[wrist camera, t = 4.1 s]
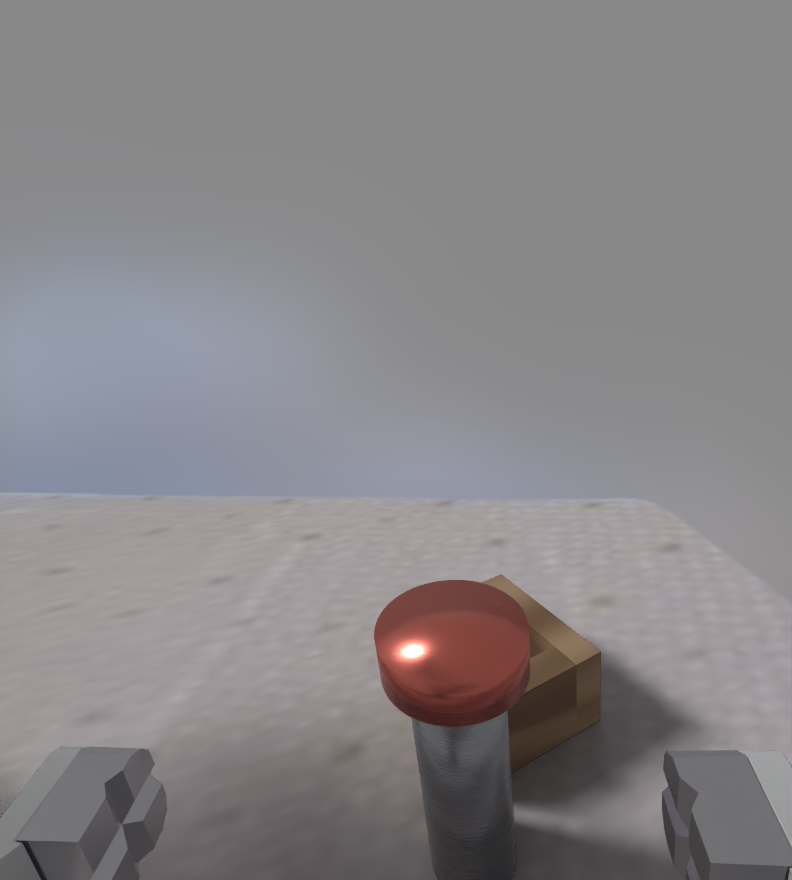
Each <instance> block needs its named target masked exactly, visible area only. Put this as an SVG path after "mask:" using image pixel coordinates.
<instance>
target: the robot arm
mask: <svg viewBox="0 0 792 880" xmlns="http://www.w3.org/2000/svg"><path fill="white" fill-rule="evenodd" d="M154 765H155V763H154V761H153V759H152V756H151V754H150V752H149V750H148V749H134V748H108V747H69V746H61V747H59V748H58V749H56V750H54V751H53V752H51V753H50V754H49V755H48V757H47V758H46V759H45V761H44V762H43V763H42V764H41V766H40V767H39V768H38V770H37V771H36V772H35V774H34V775H33V776H32V778H31V779H30V780H29V782H28V783H27V784H26V785H25V787H24V788H23V789H22V791H21V792H20V793H19V795H18V796H17V797H16V799H15V800H14V801H13V802H12V804H11V805H10V806H9V808H8V809H7V810H6V812H5V813H4V814H3V816H2V817H1V818H0V880H139V869H138V862H139V861H140V860H141V859H142V858H143V857H145V856H146V855H147V854H148V853H149V852H150V851H151V850H152V849H154V847H155V845H156V842H157V840H158V838H159V836H160V834H161V832H162V829H163V825H164V820H165V815H166V811H167V804H166V793H165V791H164V788H163V785H162V783H161V782H159V781H158V780H157V779H156V778H155V777H153V776H152V775H151V774H150V772H151V770H152V769H153V767H154ZM663 770H664V773H665V776H666V779H667V782H668V787H667V788H666V789H665V790H664V791H663V792H662V813H663V821H664V830H665V834H666V838H667V843H668V847H669V851H670V854H671V857H672V861H673V864H674V867H675V868H676V869H677V870H678V871H679V872H680V873H681V874H682V875H683V876H684V877H685V878H686V880H792V766H791V764H790V762H789V761H788V759H787V757H785V756H784V755H783V754H782V753H781V752H780V751H740V752H739V751H737V750H716V751H666V754H665V756H664V766H663Z"/></svg>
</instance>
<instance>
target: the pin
mask: <svg viewBox="0 0 792 880" xmlns="http://www.w3.org/2000/svg"><path fill="white" fill-rule="evenodd" d="M374 639H375V645H376V651H377V657H378V663H379V669H380V676H381V681H382V686H383V688H384V691H385V693H386V695H387V696H388V698H389V699H390V701H391V702H392V703H393V704H394V705H395V706H396V707H397V708H398V709H399V710H400V711H402V712H403V713H405V714H406V715H408V716H410V717H412V724H413V731H414V738H415V745H416V752H417V759H418V766H419V773H420V780H421V787H422V794H423V801H424V808H425V816H426V823H427V830H428V837H429V844H430V851H431V858H432V864H433V869H434V871H435V874H436V876H437V878H438V880H512V878H513V876H514V873H515V870H516V862H517V857H516V841H515V825H514V809H513V793H512V777H511V761H510V745H509V729H508V712H507V710H509V709H510V708H511V707H512V706H513V705H515V703H516V702H517V701H518V700H519V699H520V698H521V696H522V695H523V693H524V692H525V690H526V688H527V685H528V683H529V679H530V669H531V668H530V644H529V625H528V620H527V617H526V614H525V612H524V611H523V609H522V607H521V606H520V605H519V604H518V602H516V601H515V600H514V599H513V598H512V597H511V596H509V595H508V594H507V593H505V592H503V591H501V590H499V589H497V588H495V587H493V586H490V585H487V584H483V583H479V582H474V581H466V580H446V581H437V582H432V583H428V584H424V585H421V586H418V587H415V588H413V589H411V590H409V591H406V592H405V593H403V594H401V595H400V596H398V597H397V598H395V599H394V600H393V601H392V602H390V603H389V604H388V605H387V606H386V608H385V609H384V610H383V611H382V613H381V614H380V616H379V618H378V620H377V623H376V626H375V631H374Z"/></svg>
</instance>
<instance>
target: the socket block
mask: <svg viewBox="0 0 792 880" xmlns="http://www.w3.org/2000/svg"><path fill="white" fill-rule="evenodd" d="M482 583H483V584H487V585H490V586H493V587H495V588H497V589H499V590H501V591H503V592H505V593H507V594H508V595H509V596H511V597H512V598H513V599H514V600H515V601H516V602H518V604H519V605H520V606H521V607H522V609H523V611H524V612H525V614H526V617H527V620H528V625H529V644H530V668H531V669H530V679H529V683H528V685H527V688H526V690H525V692H524V693H523V695H522V696H521V698H520V699H519V700H518V701H517V702H516V703H515V705H513V706H512V707H511V708H510V709H509V710H507V712H508V729H509V745H510V761H511V773H513V772H514V771H516V770H518V769H519V768H521V767H523V766H524V765H526V764H528V763H529V762H531V761H533V760H534V759H536V758H538V757H539V756H541V755H543V754H544V753H546V752H548V751H549V750H551V749H553V748H554V747H556V746H557V745H559V744H561V743H562V742H564V741H566V740H567V739H569V738H571V737H572V736H574V735H576V734H577V733H579V732H581V731H582V730H584V729H586V728H587V727H589V726H591V725H592V724H594V723H596V722H597V721H599V720H600V684H601V651H600V650H598V649H597V648H596V647H594V646H593V645H592V644H591V643H589V642H588V641H587V640H585V639H584V638H583V637H582V636H580V635H579V634H578V633H576V632H575V631H574V630H573V629H571V628H570V627H569V626H567V625H566V624H565V623H563V622H562V621H561V620H560V619H558V618H557V617H556V616H554V615H553V614H552V613H551V612H549V611H548V610H547V609H545V608H544V607H543V606H542V605H540V604H539V603H538V602H536V601H535V600H534V599H533V598H531V597H530V596H529V595H527V594H526V593H525V592H523V591H522V590H521V589H520V588H518V587H517V586H516V585H514V584H513V583H512V582H511V581H509V580H508V579H507V578H505V577H504V576H503V575H502V574H501V575H498V576H496V577H494V578H491V579H489V580H487V581H485V582H482Z"/></svg>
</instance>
